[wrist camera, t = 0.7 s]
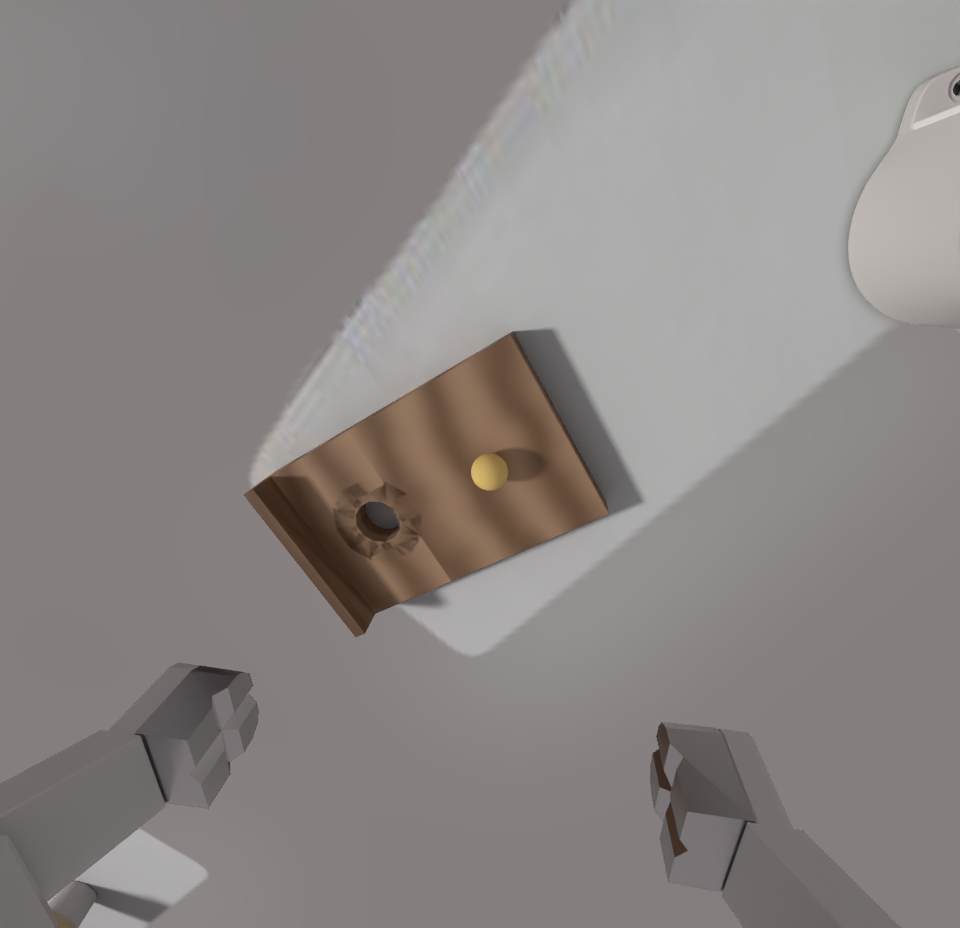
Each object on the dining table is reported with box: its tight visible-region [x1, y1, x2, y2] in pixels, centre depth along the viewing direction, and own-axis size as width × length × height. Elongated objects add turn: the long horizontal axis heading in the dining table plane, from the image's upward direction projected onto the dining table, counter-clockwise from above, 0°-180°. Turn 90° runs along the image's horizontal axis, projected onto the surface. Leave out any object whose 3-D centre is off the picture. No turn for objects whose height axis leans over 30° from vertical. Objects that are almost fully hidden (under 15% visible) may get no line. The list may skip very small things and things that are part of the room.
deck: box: [244, 332, 609, 637], centre depth 45 cm, size 28×18×6 cm, turn 121°
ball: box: [471, 453, 508, 490], centre depth 41 cm, size 3×3×3 cm
